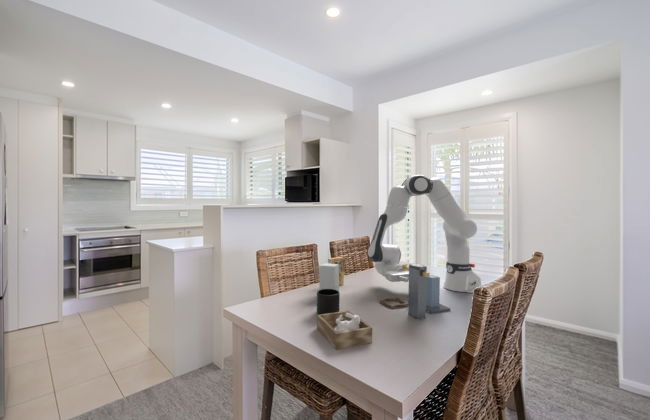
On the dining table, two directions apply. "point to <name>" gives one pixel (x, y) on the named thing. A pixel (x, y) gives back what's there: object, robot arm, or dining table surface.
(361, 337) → the display box
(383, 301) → the socket frame
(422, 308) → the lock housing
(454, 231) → the robot arm
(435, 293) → the block
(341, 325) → the rabbit figurine
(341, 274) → the candy box
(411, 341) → the dining table surface
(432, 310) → the mat
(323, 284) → the skincare box
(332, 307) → the mug
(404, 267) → the bolt
